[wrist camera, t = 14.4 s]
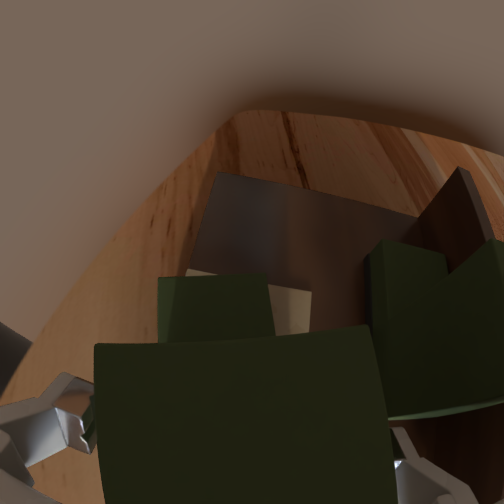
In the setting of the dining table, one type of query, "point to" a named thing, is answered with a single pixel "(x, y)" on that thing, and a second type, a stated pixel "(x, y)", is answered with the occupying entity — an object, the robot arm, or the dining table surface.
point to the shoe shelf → (352, 283)
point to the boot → (240, 406)
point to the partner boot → (436, 328)
